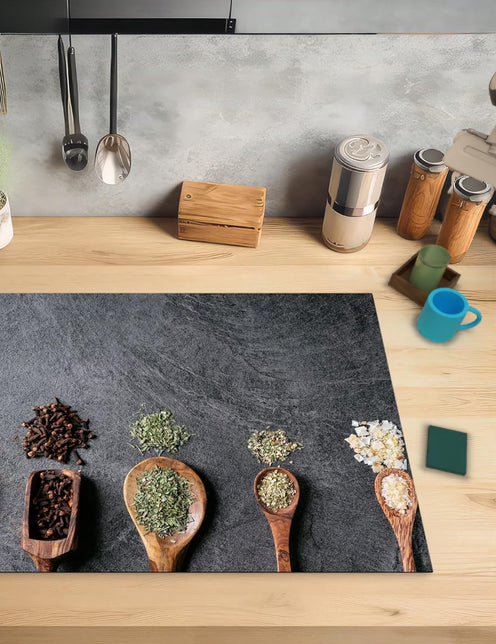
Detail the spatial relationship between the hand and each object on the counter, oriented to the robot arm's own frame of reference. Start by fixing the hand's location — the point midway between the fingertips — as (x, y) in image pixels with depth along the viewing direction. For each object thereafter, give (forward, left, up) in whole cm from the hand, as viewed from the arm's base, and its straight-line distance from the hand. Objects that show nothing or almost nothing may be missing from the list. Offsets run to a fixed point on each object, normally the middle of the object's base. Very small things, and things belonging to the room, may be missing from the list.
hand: (471, 204), depth 157 cm
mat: (-28, +45, -16) cm, 55 cm away
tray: (-1, +12, -16) cm, 20 cm away
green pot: (-1, +12, -15) cm, 19 cm away
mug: (-12, +19, -16) cm, 27 cm away
